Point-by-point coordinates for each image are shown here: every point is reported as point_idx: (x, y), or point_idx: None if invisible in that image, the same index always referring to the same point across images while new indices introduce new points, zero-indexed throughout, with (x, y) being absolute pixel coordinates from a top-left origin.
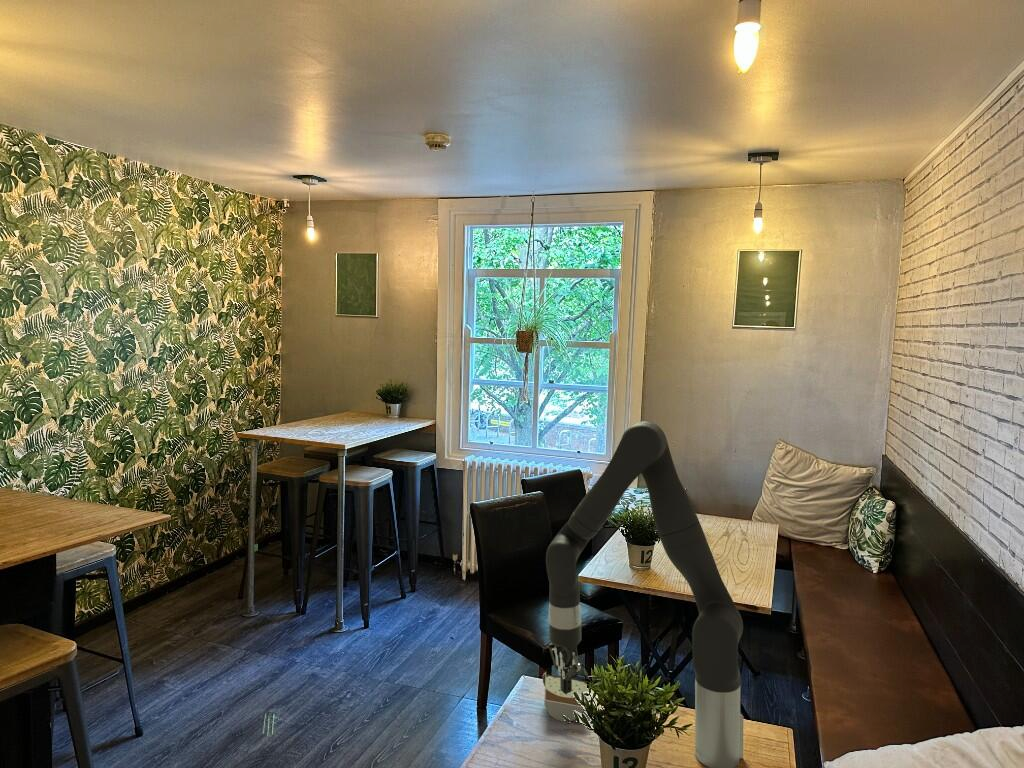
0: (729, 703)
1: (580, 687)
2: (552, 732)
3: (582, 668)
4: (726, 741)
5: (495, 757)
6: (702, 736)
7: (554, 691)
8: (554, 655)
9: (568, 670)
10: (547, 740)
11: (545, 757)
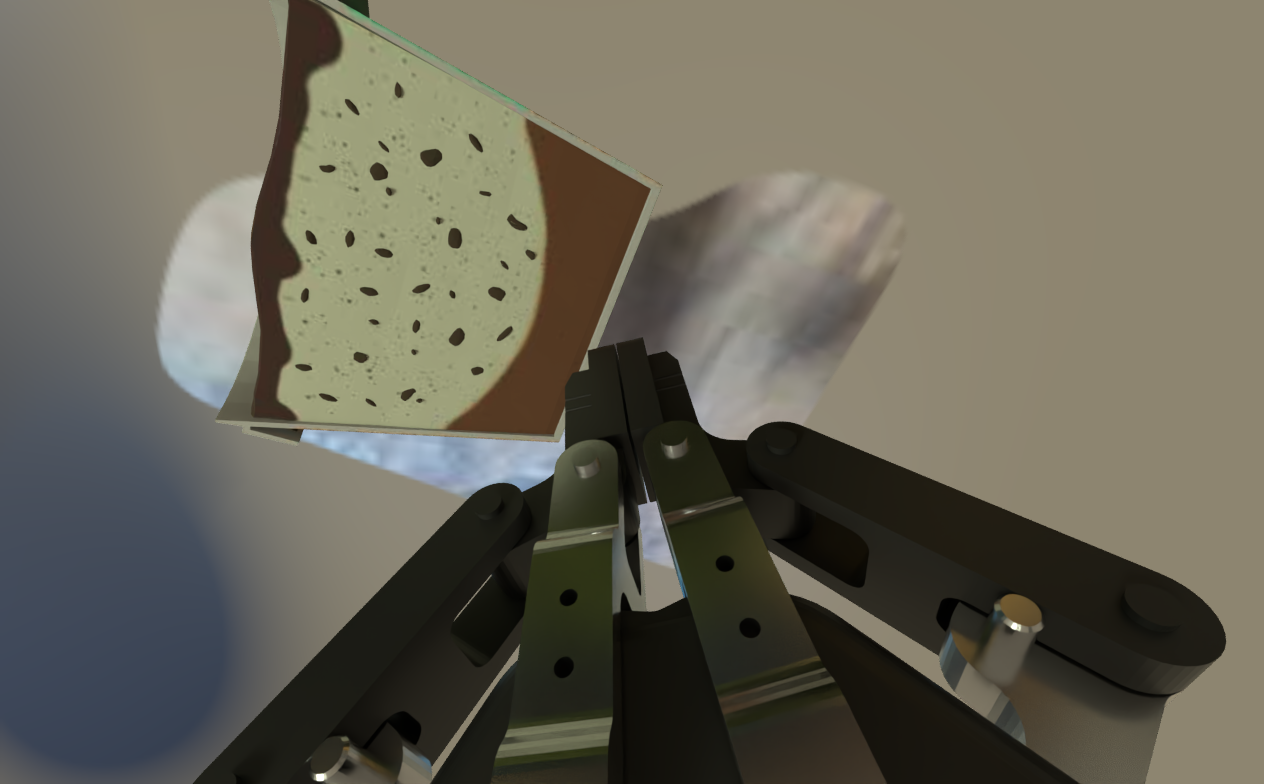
0: None
1: (406, 139)
2: (652, 344)
3: (1138, 579)
4: None
5: None
6: None
7: (470, 375)
8: (463, 712)
9: (622, 482)
10: (702, 376)
11: (803, 404)
